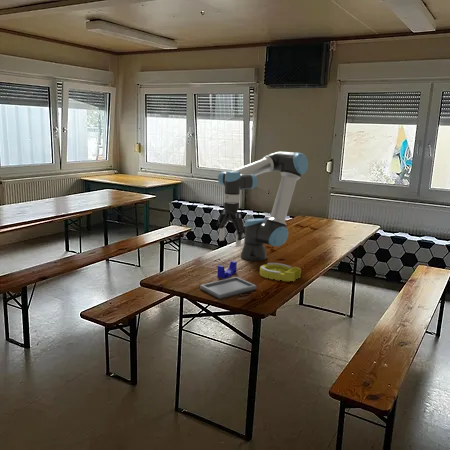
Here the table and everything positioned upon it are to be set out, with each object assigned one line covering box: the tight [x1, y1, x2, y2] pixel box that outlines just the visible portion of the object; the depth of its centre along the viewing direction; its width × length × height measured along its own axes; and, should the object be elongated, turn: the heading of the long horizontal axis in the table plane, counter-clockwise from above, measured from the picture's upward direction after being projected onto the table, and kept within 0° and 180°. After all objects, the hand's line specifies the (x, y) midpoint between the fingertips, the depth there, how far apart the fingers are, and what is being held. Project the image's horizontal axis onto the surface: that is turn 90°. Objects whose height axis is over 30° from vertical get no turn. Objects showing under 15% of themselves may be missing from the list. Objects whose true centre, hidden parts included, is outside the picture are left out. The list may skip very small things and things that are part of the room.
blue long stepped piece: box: [217, 260, 238, 280], centre depth 235 cm, size 12×4×6 cm, turn 141°
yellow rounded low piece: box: [259, 262, 302, 282], centre depth 238 cm, size 16×21×5 cm
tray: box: [199, 276, 257, 300], centre depth 215 cm, size 22×15×2 cm
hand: (229, 243), depth 232 cm, fingers open, 13 cm apart
